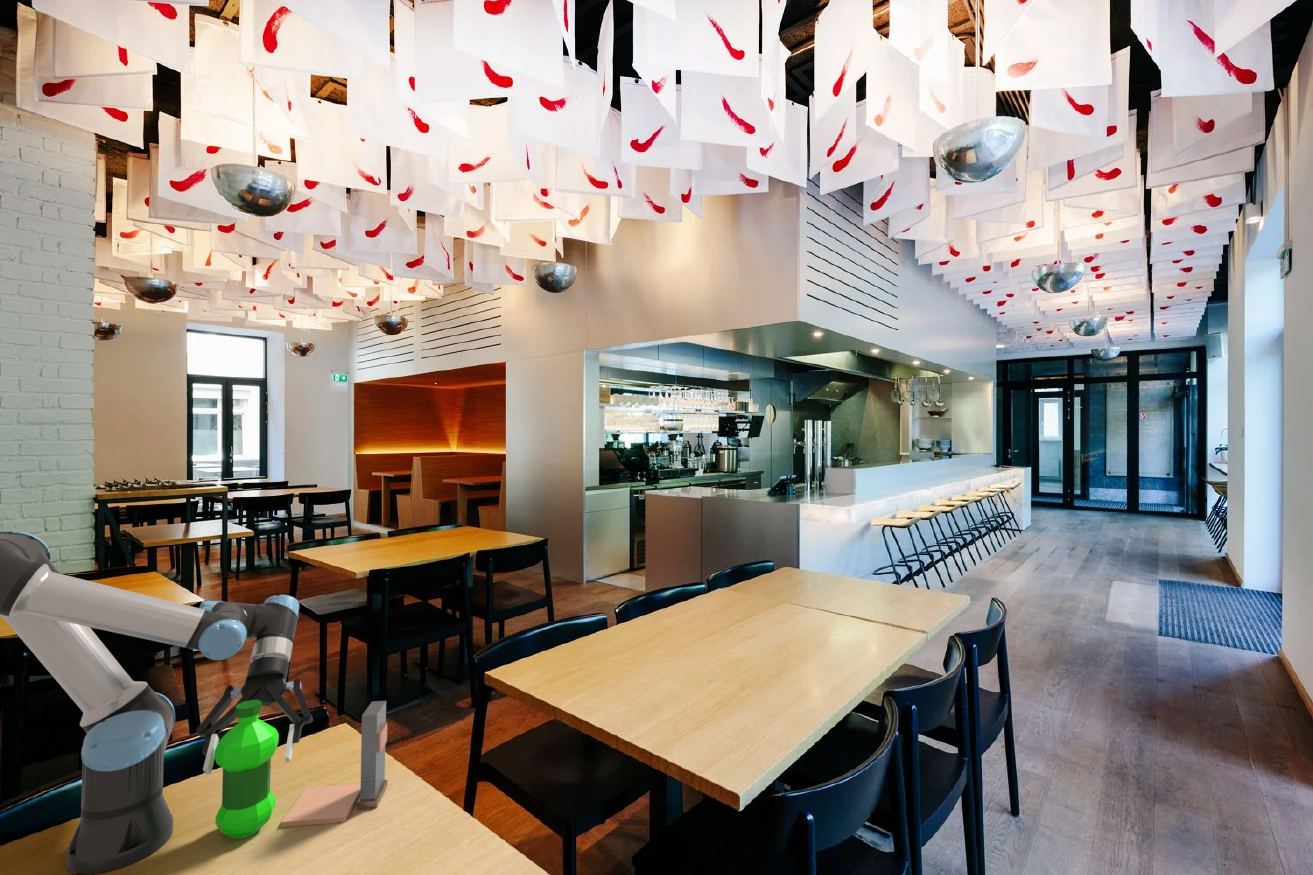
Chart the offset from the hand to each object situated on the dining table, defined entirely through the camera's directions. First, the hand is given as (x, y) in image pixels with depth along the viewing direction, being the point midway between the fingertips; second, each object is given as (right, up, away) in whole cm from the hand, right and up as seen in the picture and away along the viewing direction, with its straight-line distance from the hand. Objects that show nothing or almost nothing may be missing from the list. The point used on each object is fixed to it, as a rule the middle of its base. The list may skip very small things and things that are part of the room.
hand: (247, 765), depth 118 cm
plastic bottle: (-1, -13, +1) cm, 14 cm away
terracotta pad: (+10, -14, +9) cm, 19 cm away
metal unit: (+19, -14, +12) cm, 26 cm away
